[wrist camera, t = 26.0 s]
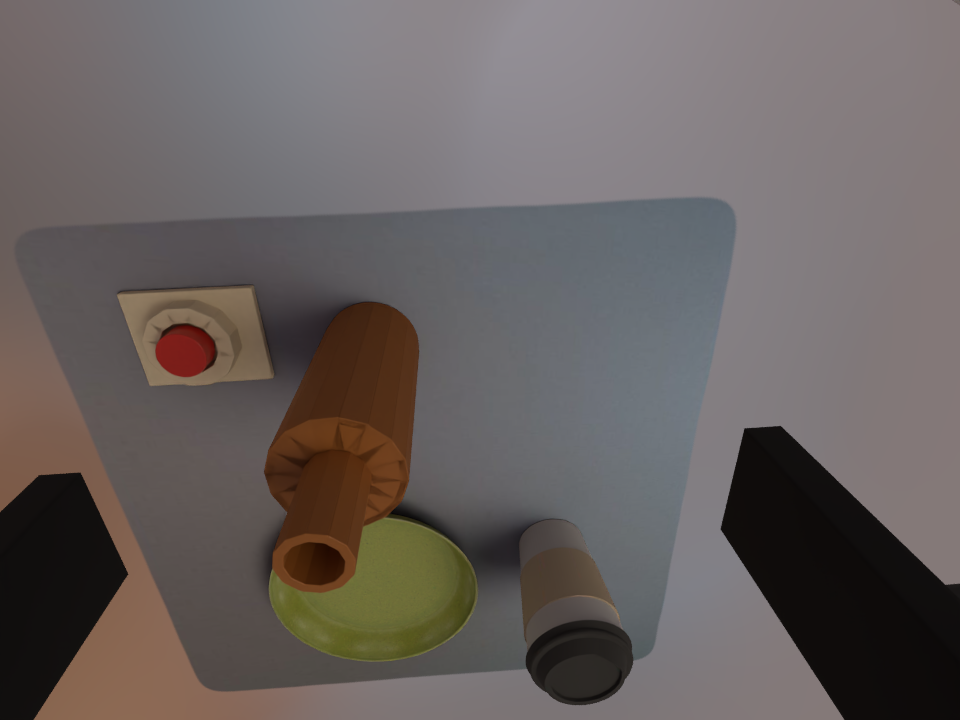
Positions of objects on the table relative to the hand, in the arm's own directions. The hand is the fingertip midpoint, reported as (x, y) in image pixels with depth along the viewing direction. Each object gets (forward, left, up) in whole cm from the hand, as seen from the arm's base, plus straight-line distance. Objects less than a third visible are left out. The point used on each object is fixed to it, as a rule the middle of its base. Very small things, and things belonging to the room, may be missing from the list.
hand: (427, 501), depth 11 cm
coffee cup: (+19, +31, -32) cm, 48 cm away
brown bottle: (+12, +3, -32) cm, 34 cm away
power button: (+20, -8, -30) cm, 37 cm away
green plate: (+33, +19, -32) cm, 50 cm away
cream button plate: (+20, -8, -32) cm, 38 cm away
